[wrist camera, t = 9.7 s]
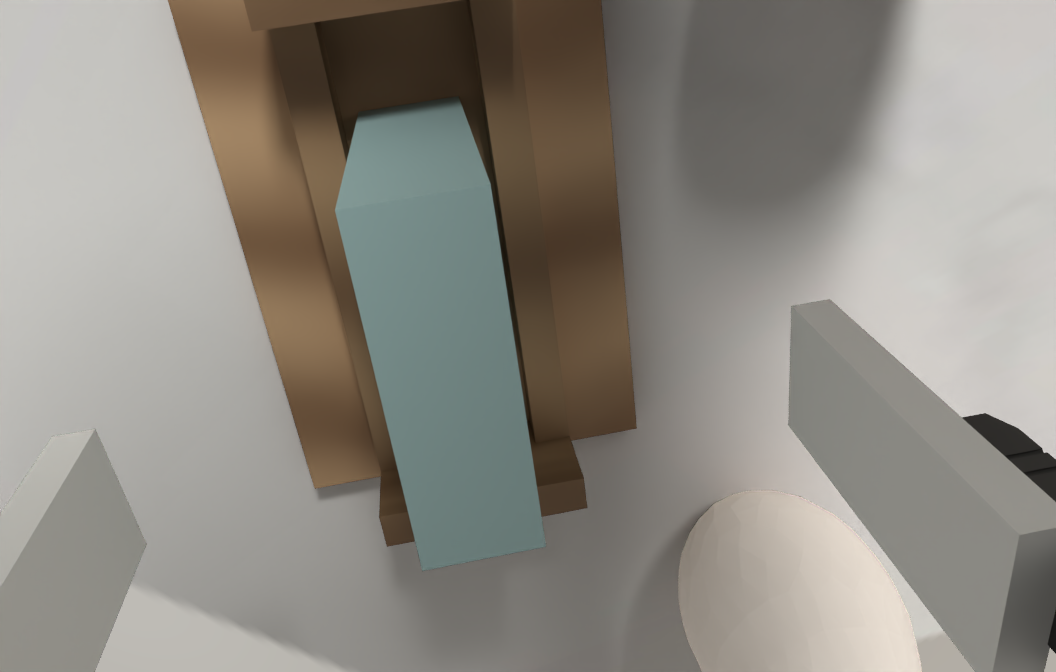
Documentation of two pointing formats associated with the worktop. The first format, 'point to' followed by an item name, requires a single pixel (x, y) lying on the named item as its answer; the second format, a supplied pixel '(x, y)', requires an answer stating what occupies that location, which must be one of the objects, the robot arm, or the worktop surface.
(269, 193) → the wooden holder rack
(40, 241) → the worktop surface
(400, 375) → the door slab
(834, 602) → the egg
